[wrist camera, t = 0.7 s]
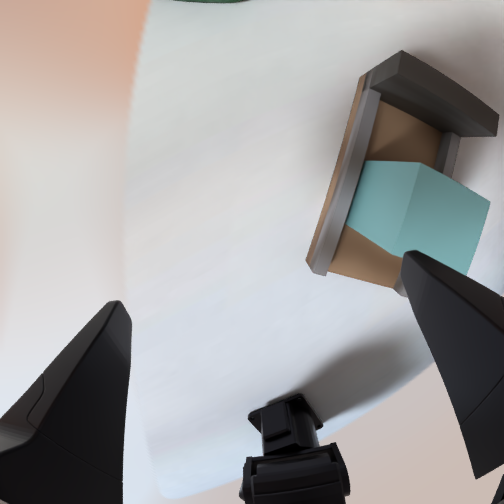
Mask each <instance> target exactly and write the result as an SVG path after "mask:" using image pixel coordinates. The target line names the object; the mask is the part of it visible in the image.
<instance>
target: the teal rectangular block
mask: <svg viewBox="0 0 504 504" xmlns="http://www.w3.org/2000/svg"><path fill="white" fill-rule="evenodd" d="M489 206H490V201H488V200H487V199H485V198H483V197H482V196H480V195H478V194H477V193H475V192H473V191H472V190H470V189H468V188H467V187H465V186H463V185H461V184H460V183H458V182H456V181H454V180H453V179H451V178H449V177H447V176H445V175H443V174H442V173H440V172H438V171H436V170H434V169H432V168H430V167H428V166H426V165H424V164H422V163H418V162H397V161H364V163H363V166H362V170H361V173H360V177H359V180H358V183H357V186H356V190H355V193H354V196H353V199H352V203H351V206H350V209H349V212H348V215H347V218H346V221H345V224H346V225H348V226H349V227H351V228H353V229H354V230H356V231H357V232H359V233H360V234H362V235H363V236H365V237H366V238H368V239H369V240H371V241H373V242H374V243H376V244H377V245H379V246H380V247H382V248H383V249H384V250H386V251H387V252H389V253H390V254H392V255H395V256H398V257H402V258H403V254H404V253H405V252H406V251H410V250H418V251H420V252H422V253H424V254H426V255H428V256H430V257H432V258H434V259H436V260H437V261H439V262H441V263H443V264H445V265H447V266H449V267H451V268H453V269H454V270H456V271H458V272H460V273H462V274H464V275H465V276H466V275H467V272H468V270H469V267H470V264H471V262H472V259H473V256H474V254H475V251H476V248H477V245H478V242H479V239H480V236H481V233H482V230H483V227H484V223H485V220H486V217H487V213H488V210H489Z"/></svg>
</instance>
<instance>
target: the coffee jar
mask: <svg viewBox="0 0 504 504" xmlns="http://www.w3.org/2000/svg"><path fill="white" fill-rule="evenodd" d="M175 1H184V2H201V3H233V2H239V1H242V0H175Z"/></svg>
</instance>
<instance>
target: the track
mask: <svg viewBox="0 0 504 504" xmlns="http://www.w3.org/2000/svg"><path fill="white" fill-rule="evenodd" d="M498 121H499V114H497V113H496V112H495V111H494V110H493V109H491V108H490V107H489V106H488V105H486V104H485V103H484V102H482V101H481V100H480V99H478V98H477V97H476V96H474V95H473V94H472V93H470V92H469V91H467V90H466V89H465V88H463V87H462V86H460V85H459V84H457V83H456V82H454V81H453V80H451V79H450V78H448V77H447V76H445V75H444V74H442V73H441V72H439V71H437V70H436V69H434V68H433V67H431V66H429V65H428V64H426V63H424V62H422V61H421V60H419V59H417V58H415V57H414V56H412V55H410V54H408V53H406V52H404V51H403V50H401V51H399V52H398V53H396V54H395V55H393V56H391V57H390V58H388V59H387V60H385V61H384V62H382V63H381V64H379V65H377V66H376V67H374V68H373V69H371V70H370V71H368V72H367V73H365V74H364V75H362V76H361V77H360V78H359V82H358V86H357V90H356V94H355V98H354V102H353V105H352V109H351V113H350V117H349V120H348V124H347V128H346V131H345V135H344V138H343V142H342V146H341V149H340V153H339V156H338V159H337V163H336V166H335V170H334V173H333V176H332V180H331V183H330V186H329V189H328V193H327V196H326V199H325V202H324V206H323V209H322V212H321V215H320V218H319V221H318V224H317V227H316V230H315V233H314V237H313V240H312V243H311V246H310V249H309V252H308V254H307V257H306V262H307V264H308V265H309V267H310V269H311V270H312V272H313V273H315V274H319V275H322V276H326V274H327V271H328V272H332V273H336V274H340V275H344V276H347V277H351V278H355V279H359V280H362V281H366V282H370V283H374V284H378V285H381V286H385V287H389V288H393V289H394V290H395V291H396V292H397V293H398V294H399V295H400V296H404V297H408V296H407V293H406V291H405V288H404V285H403V283H402V280H401V276H400V271H401V265H402V259H403V258H402V257H398V256H395V255H392V254H390V253H389V252H387V251H386V250H384V249H383V248H382V247H380V246H379V245H377V244H376V243H374V242H373V241H371V240H369V239H368V238H366V237H365V236H363V235H362V234H360V233H359V232H357V231H356V230H354V229H353V228H351V227H349V226H348V225H346V224H345V221H346V218H347V215H348V212H349V209H350V206H351V203H352V199H353V196H354V193H355V190H356V186H357V183H358V180H359V177H360V173H361V170H362V166H363V163H364V161H397V162H418V163H422V164H424V165H426V166H428V167H430V168H432V169H434V170H436V171H438V172H440V173H442V174H443V175H445V176H447V177H449V178H451V177H452V173H453V169H454V165H455V161H456V156H457V152H458V147H459V142H460V137H496V135H497V128H498Z"/></svg>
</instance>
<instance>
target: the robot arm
mask: <svg viewBox="0 0 504 504" xmlns="http://www.w3.org/2000/svg"><path fill="white" fill-rule="evenodd" d="M400 276H401V280H402V283H403V285H404V288H405V291H406V293H407V296H408V299H409V301H410V304H411V307H412V310H413V312H414V315H415V317H416V320H417V322H418V324H419V326H420V328H421V331H422V333H423V335H424V337H425V339H426V342H427V344H428V346H429V348H430V351H431V353H432V355H433V357H434V360H435V362H436V364H437V367H438V369H439V372H440V374H441V377H442V379H443V382H444V384H445V387H446V389H447V392H448V395H449V397H450V400H451V403H452V405H453V408H454V411H455V414H456V416H457V419H458V422H459V425H460V429H461V432H462V435H463V438H464V441H465V444H466V448H467V451H468V454H469V458H470V461H471V465H472V469H473V473H474V476H475V479H478V478H480V477H482V476H484V475H486V474H487V473H489V472H491V471H493V470H494V469H496V468H497V467H499V466H501V465H502V464H504V297H502V296H501V297H500V295H499V294H497V293H495V292H494V291H492V290H490V289H489V288H487V287H485V286H483V285H482V284H480V283H478V282H476V281H474V280H473V279H471V278H469V277H467V276H465V275H464V274H462V273H460V272H458V271H456V270H454V269H453V268H451V267H449V266H447V265H445V264H443V263H441V262H439V261H437V260H436V259H434V258H432V257H430V256H428V255H426V254H424V253H422V252H420V251H418V250H410V251H406V252H405V253H404V254H403V259H402V265H401V271H400ZM131 337H132V321H131V318H130V316H129V314H128V312H127V311H126V309H125V307H124V305H123V304H122V302H121V301H118V300H116V301H110V302H108V303H106V305H105V306H104V307H103V308H102V309H101V310H100V311H99V312H98V313H97V314H96V315H95V316H94V317H93V318H92V319H91V320H90V321H89V322H88V323H87V324H86V325H85V326H84V328H83V329H82V330H81V331H80V332H79V333H78V334H77V335H76V336H75V337H74V338H73V339H72V341H71V342H70V343H69V344H68V345H67V346H66V347H65V348H64V349H63V350H62V351H61V352H60V354H59V355H58V356H57V357H56V358H55V359H54V361H52V363H51V364H50V365H49V366H48V367H47V368H46V369H45V370H44V372H43V373H42V374H41V375H40V376H39V377H38V379H37V380H36V381H35V382H34V383H33V384H32V385H31V387H30V388H29V389H28V390H27V391H26V392H25V393H24V394H23V396H21V398H20V399H18V401H17V402H16V403H15V404H14V405H13V406H12V407H11V408H10V409H9V410H8V411H7V412H6V413H5V414H4V415H3V416H2V417H1V418H0V504H123V482H122V481H123V451H124V432H125V418H126V406H127V395H128V386H129V377H130V367H131ZM298 398H300V399H298ZM251 417H254V418H251ZM248 420H249V421H250V422H251V423H252V425H253V426H254V427H255V428H256V429H257V430H258V431H259V432H260V433H261V434H262V448H263V456H259V457H252V456H251V457H246V463H245V464H244V467H243V482H242V485H241V488H240V491H239V497H240V498H241V499H242V500H244V501H245V504H346V502H345V496H349V495H350V482H349V476H348V472H347V468H346V465H345V463H344V461H343V458H342V456H341V454H340V451H339V449H338V447H337V445H336V442H334V443H331V444H329V445H325V446H319V442H318V438H317V434H316V430H318V429H321V428H322V427H323V423H322V421H321V420H320V418H319V417H318V415H317V414H316V413H315V411H314V410H313V408H312V407H311V405H310V404H309V402H308V401H307V400H306V398H305V397H304V395H303V394H297V395H295V396H292V397H290V398H288V399H285V400H283V401H281V402H278V403H276V404H273V405H271V406H268V407H266V408H263V409H261V410H258V411H256V412H253V413H250V414H249V415H248ZM491 504H504V474H503V476H502V479H501V481H500V484H499V487H498V489H497V491H496V494H495V496H494V499H493V501H492V503H491Z"/></svg>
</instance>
